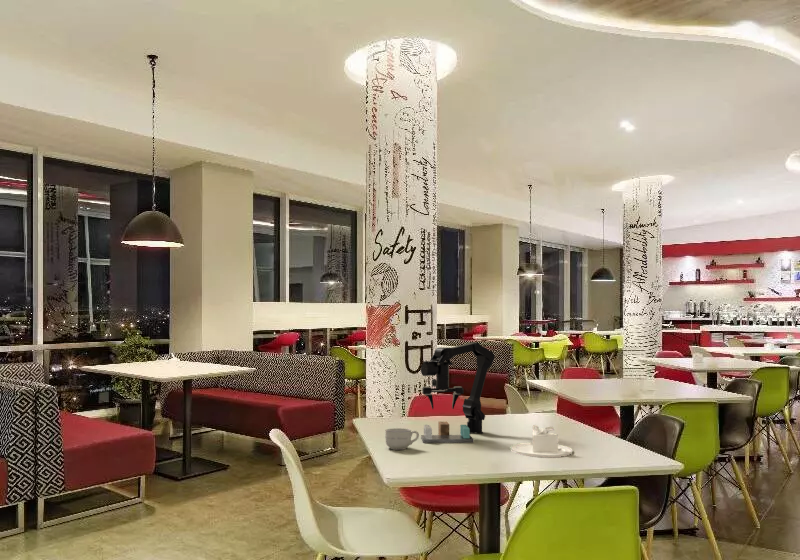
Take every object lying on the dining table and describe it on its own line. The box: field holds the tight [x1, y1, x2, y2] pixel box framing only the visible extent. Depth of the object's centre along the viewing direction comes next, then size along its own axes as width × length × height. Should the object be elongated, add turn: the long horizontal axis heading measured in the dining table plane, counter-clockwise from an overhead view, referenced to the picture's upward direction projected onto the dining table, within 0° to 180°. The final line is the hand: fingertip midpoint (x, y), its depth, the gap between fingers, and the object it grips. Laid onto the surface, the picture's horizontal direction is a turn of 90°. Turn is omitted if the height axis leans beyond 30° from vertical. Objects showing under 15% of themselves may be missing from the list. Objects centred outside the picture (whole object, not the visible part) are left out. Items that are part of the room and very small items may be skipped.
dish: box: [509, 424, 573, 458], centre depth 264 cm, size 25×25×11 cm
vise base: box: [420, 424, 475, 444], centre depth 284 cm, size 22×10×6 cm, turn 93°
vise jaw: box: [459, 424, 471, 438], centre depth 285 cm, size 2×10×4 cm, turn 3°
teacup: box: [385, 427, 420, 451], centre depth 266 cm, size 14×11×8 cm
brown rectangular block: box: [437, 421, 450, 435], centre depth 295 cm, size 4×8×6 cm, turn 3°
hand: (442, 409), depth 296 cm, fingers open, 9 cm apart
